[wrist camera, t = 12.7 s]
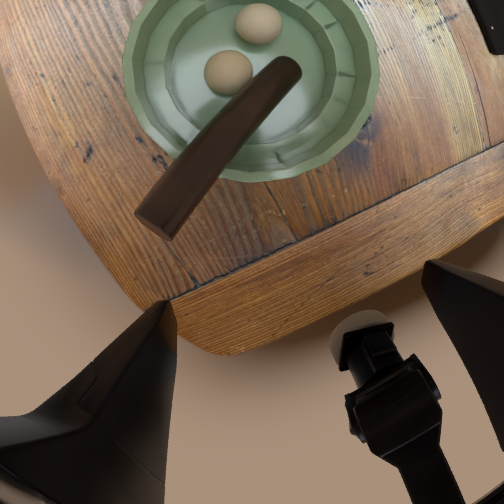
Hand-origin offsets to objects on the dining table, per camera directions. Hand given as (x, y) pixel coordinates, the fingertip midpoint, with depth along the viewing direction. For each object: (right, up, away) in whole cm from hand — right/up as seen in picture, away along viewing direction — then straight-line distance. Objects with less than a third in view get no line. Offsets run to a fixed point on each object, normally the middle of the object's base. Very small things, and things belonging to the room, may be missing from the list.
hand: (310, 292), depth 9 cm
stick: (0, +13, +7) cm, 15 cm away
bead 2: (-1, +16, +5) cm, 16 cm away
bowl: (-2, +14, +8) cm, 16 cm away
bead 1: (-3, +12, +6) cm, 14 cm away
